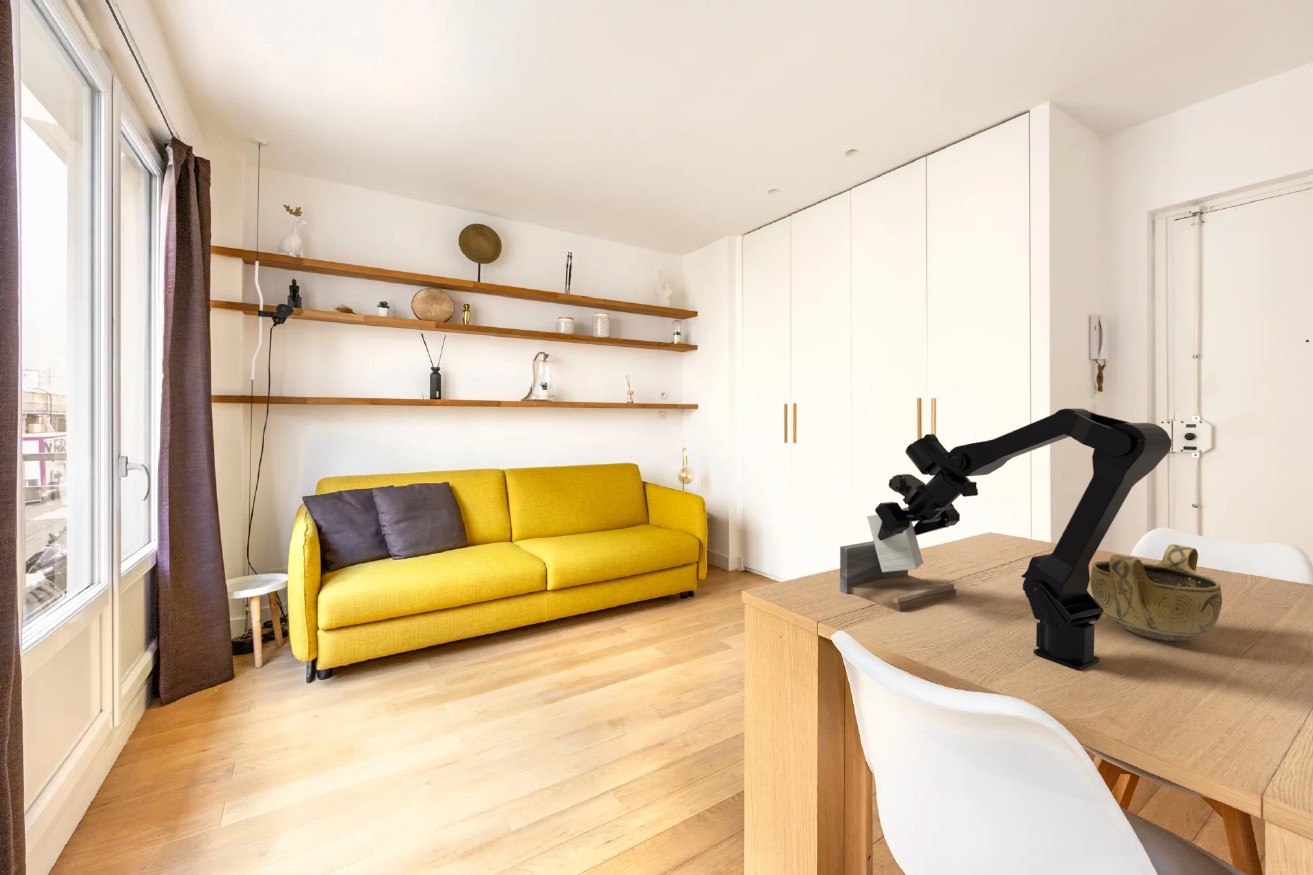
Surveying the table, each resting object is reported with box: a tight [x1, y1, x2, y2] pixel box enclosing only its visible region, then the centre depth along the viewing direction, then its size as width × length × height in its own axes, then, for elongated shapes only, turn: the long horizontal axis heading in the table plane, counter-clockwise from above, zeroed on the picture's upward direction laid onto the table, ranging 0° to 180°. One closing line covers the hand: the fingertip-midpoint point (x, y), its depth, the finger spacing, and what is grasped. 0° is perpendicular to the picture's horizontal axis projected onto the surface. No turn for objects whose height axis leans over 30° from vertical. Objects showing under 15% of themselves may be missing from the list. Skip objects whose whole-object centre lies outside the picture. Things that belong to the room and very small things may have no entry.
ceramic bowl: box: [1089, 543, 1223, 642], centre depth 93 cm, size 22×17×15 cm
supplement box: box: [866, 506, 924, 572], centre depth 115 cm, size 7×7×13 cm
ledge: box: [839, 540, 957, 612], centre depth 115 cm, size 14×20×10 cm
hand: (895, 536), depth 115 cm, fingers closed on supplement box, 9 cm apart
